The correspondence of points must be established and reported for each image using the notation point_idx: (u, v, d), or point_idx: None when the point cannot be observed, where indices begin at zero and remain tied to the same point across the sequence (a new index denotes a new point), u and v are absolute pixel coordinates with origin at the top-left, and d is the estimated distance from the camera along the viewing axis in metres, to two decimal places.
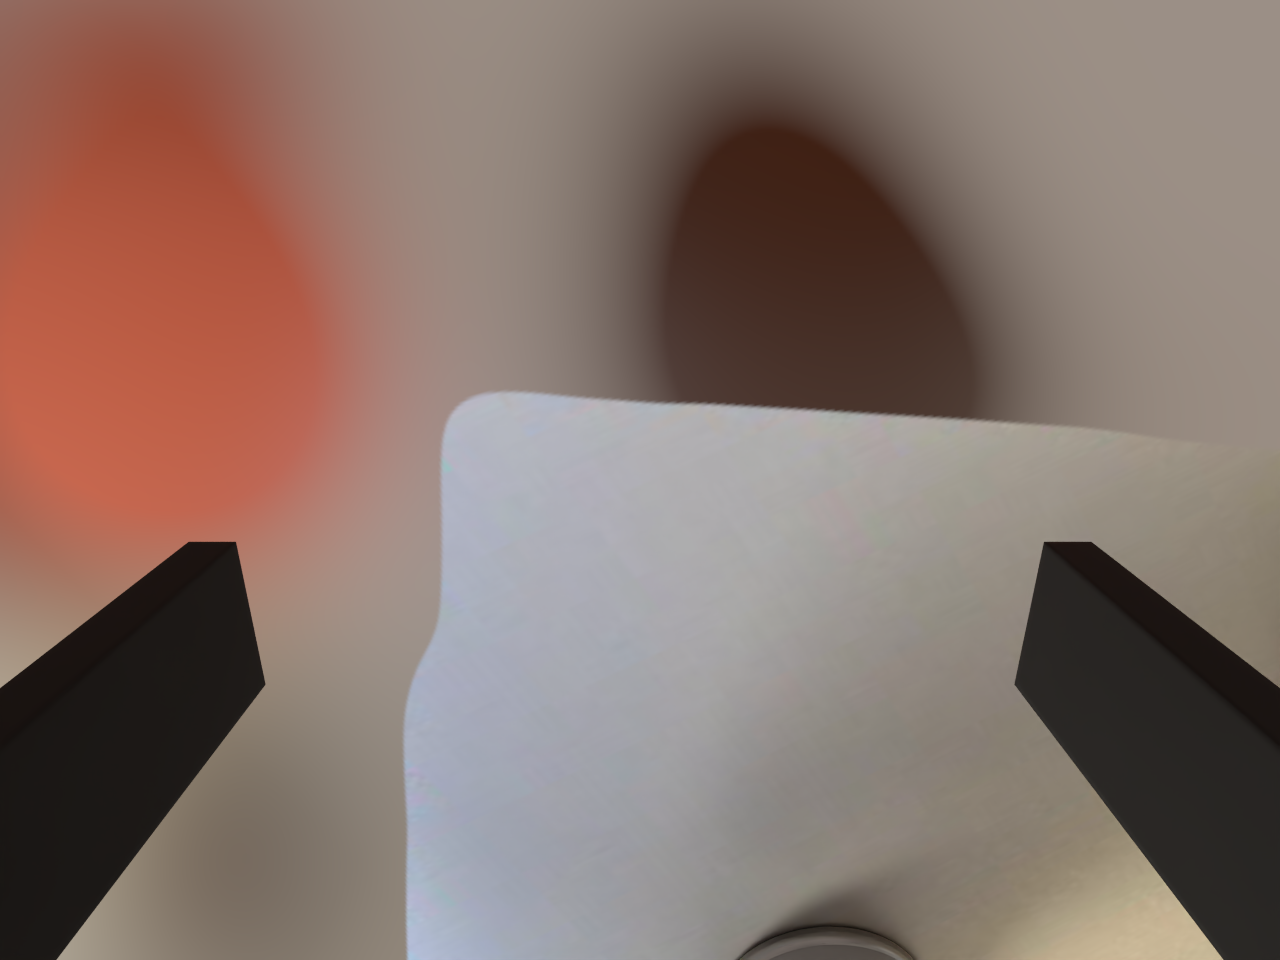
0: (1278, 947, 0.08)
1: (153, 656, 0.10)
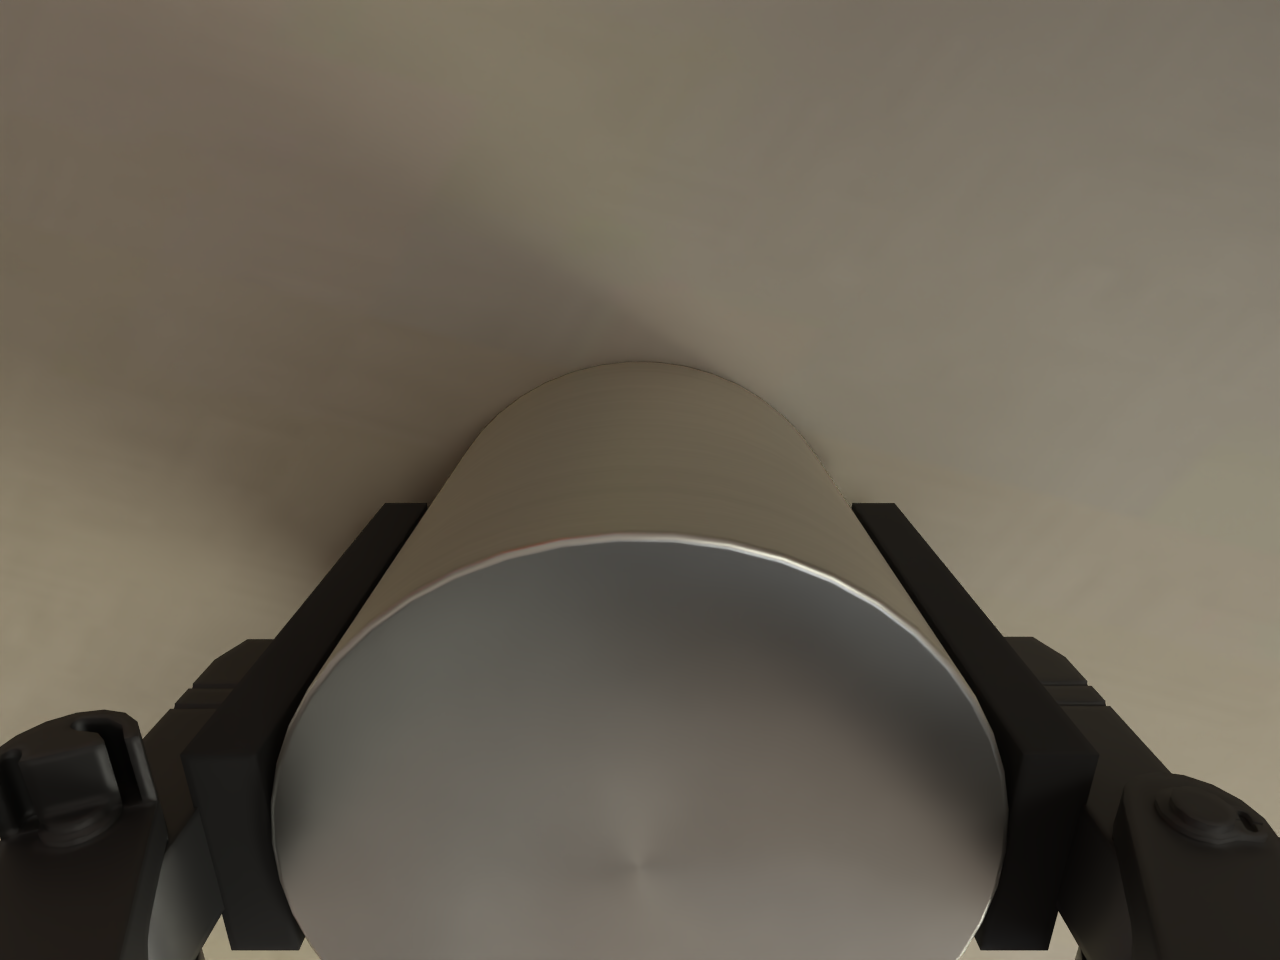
0: None
1: None
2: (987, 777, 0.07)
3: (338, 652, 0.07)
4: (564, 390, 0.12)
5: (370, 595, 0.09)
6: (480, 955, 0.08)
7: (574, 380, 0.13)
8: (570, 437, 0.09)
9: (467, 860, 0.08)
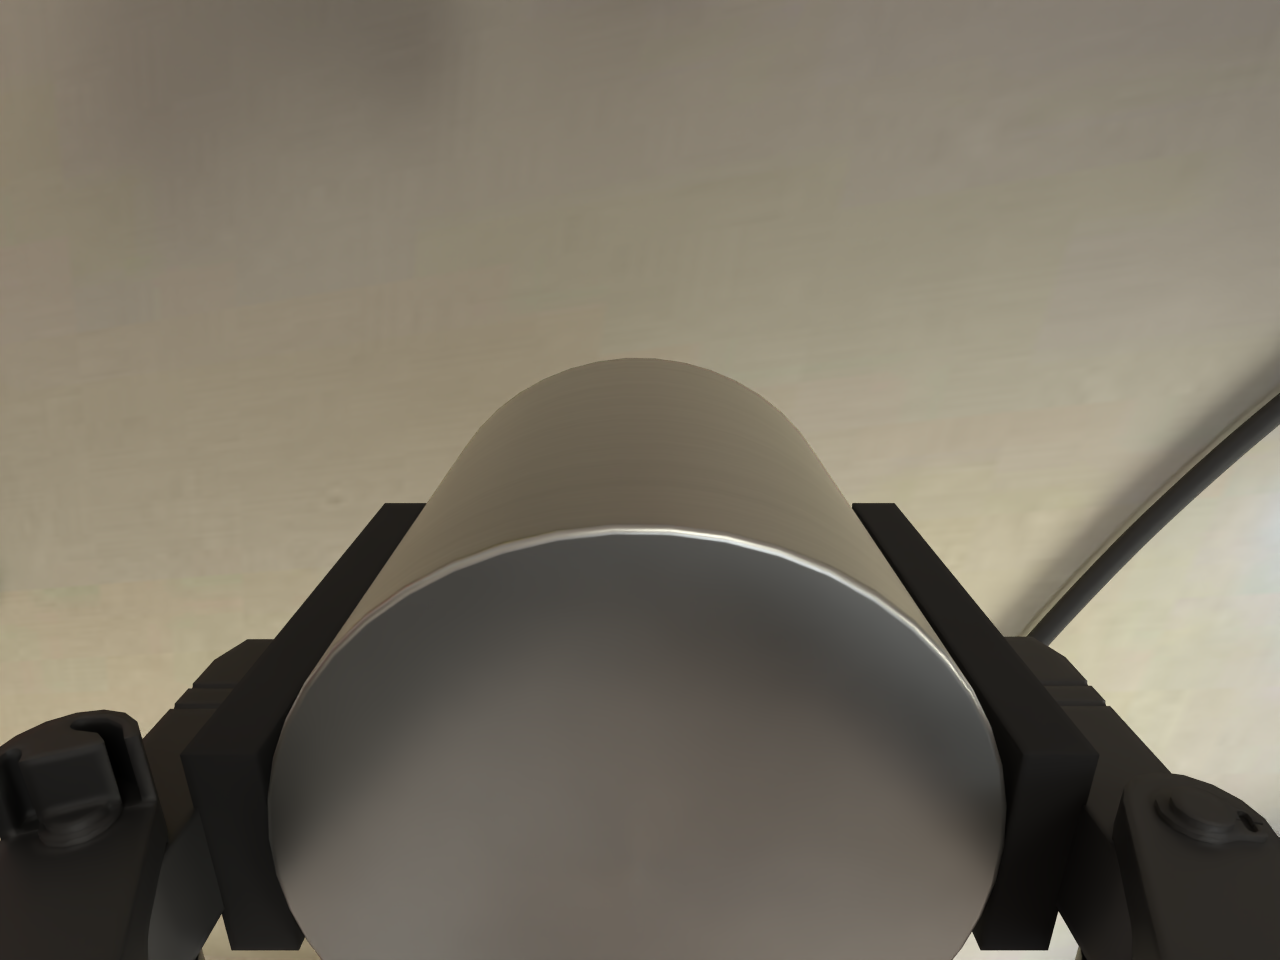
0: None
1: None
2: (985, 771, 0.07)
3: (334, 646, 0.07)
4: (562, 386, 0.12)
5: (367, 590, 0.09)
6: (477, 950, 0.08)
7: (572, 376, 0.13)
8: (569, 432, 0.09)
9: (465, 856, 0.08)
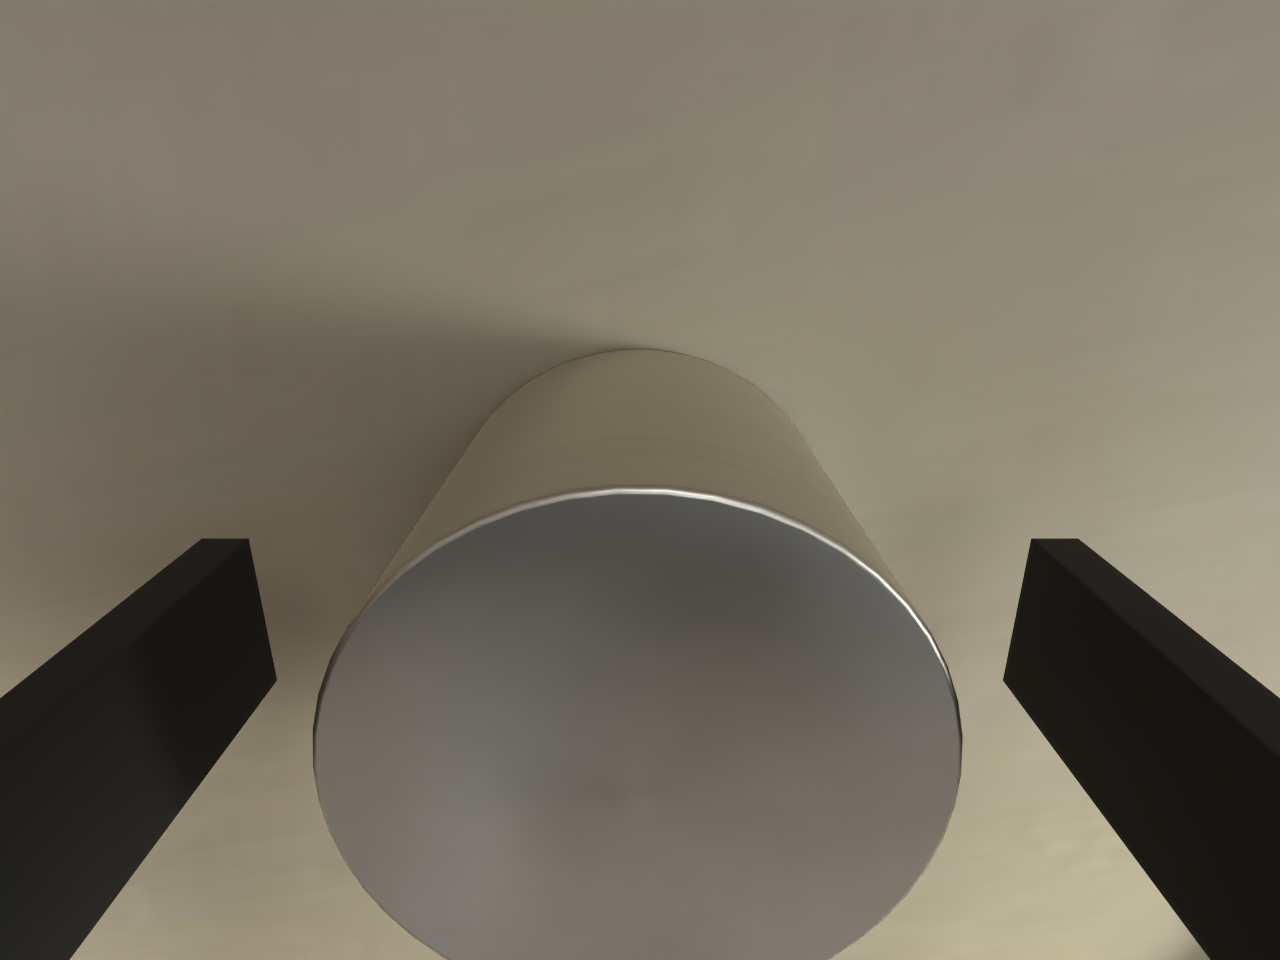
0: (1255, 936, 0.08)
1: (169, 651, 0.10)
2: (942, 705, 0.09)
3: (375, 593, 0.08)
4: (569, 374, 0.13)
5: (397, 552, 0.10)
6: (496, 871, 0.09)
7: (578, 365, 0.14)
8: (576, 413, 0.10)
9: (486, 783, 0.09)
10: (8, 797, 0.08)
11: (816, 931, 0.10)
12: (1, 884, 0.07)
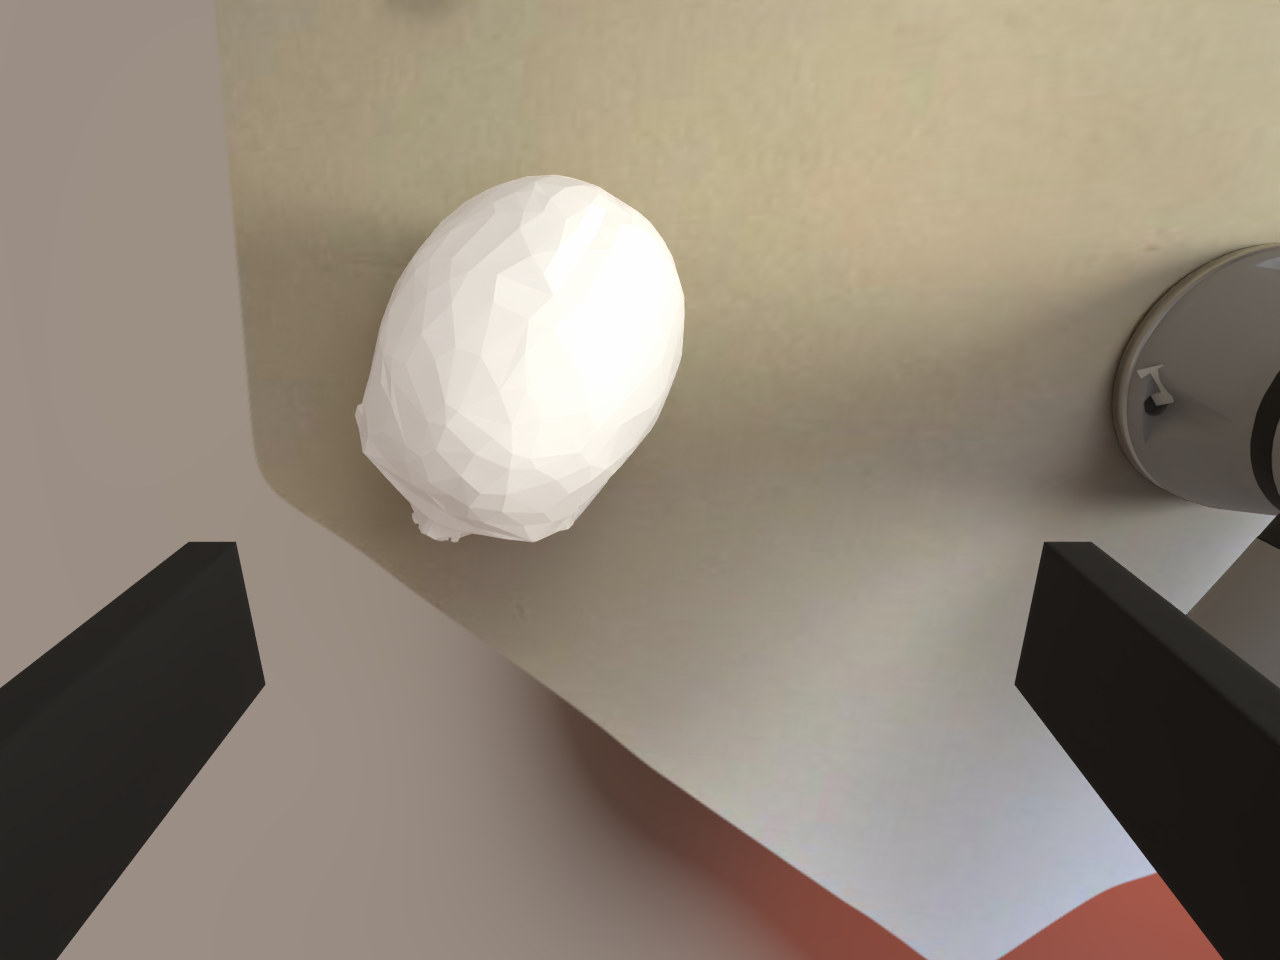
0: (1278, 947, 0.08)
1: (153, 656, 0.10)
2: None
3: None
4: None
5: None
6: None
7: None
8: None
9: None
10: None
11: None
12: None
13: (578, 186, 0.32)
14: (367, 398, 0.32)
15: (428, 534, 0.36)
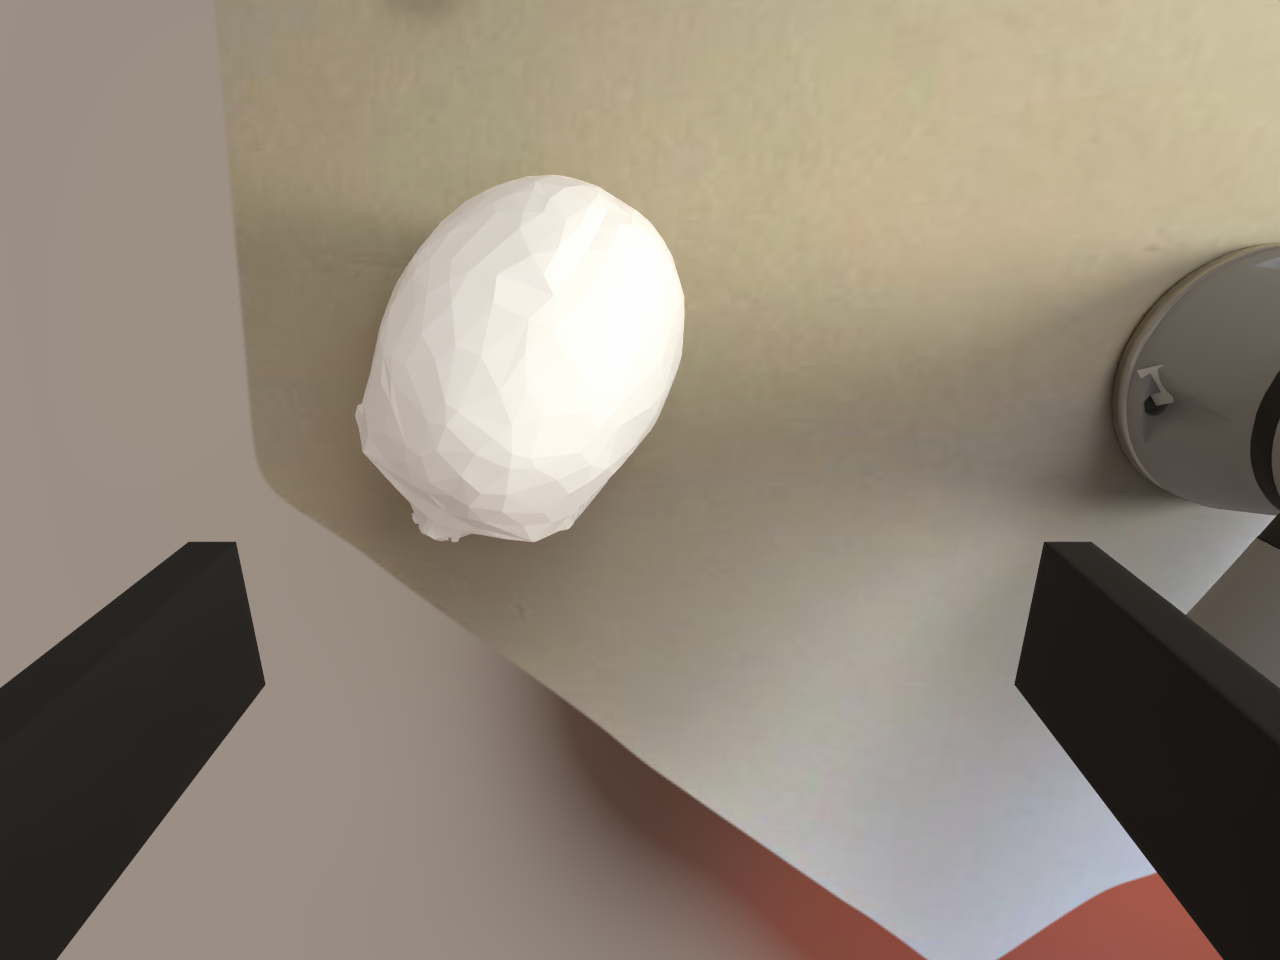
0: (1278, 947, 0.08)
1: (153, 656, 0.10)
2: None
3: None
4: None
5: None
6: None
7: None
8: None
9: None
10: None
11: None
12: None
13: (578, 186, 0.32)
14: (367, 398, 0.32)
15: (428, 534, 0.36)
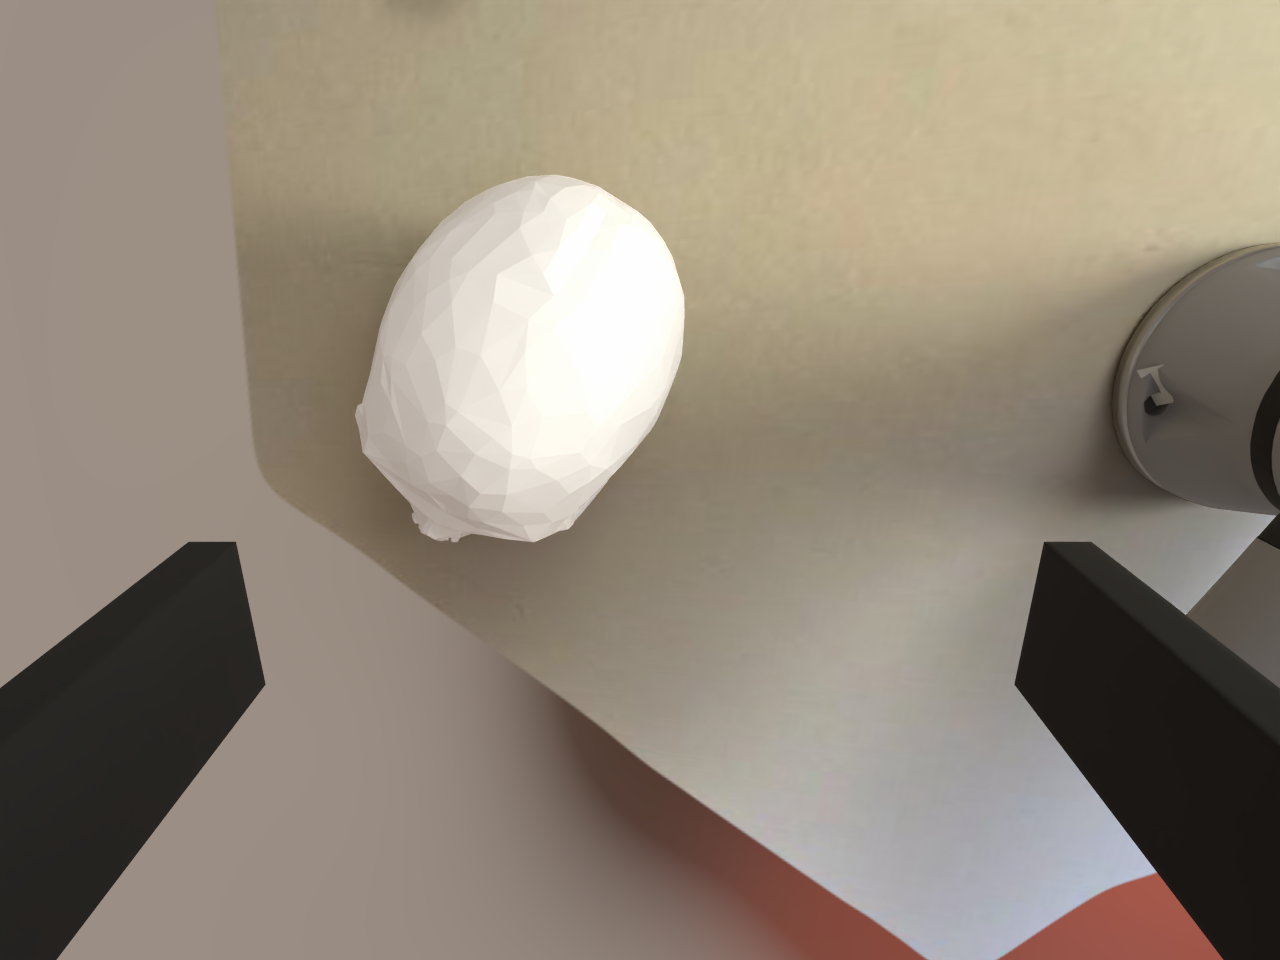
0: (1278, 947, 0.08)
1: (153, 656, 0.10)
2: None
3: None
4: None
5: None
6: None
7: None
8: None
9: None
10: None
11: None
12: None
13: (578, 186, 0.32)
14: (367, 398, 0.32)
15: (428, 534, 0.36)
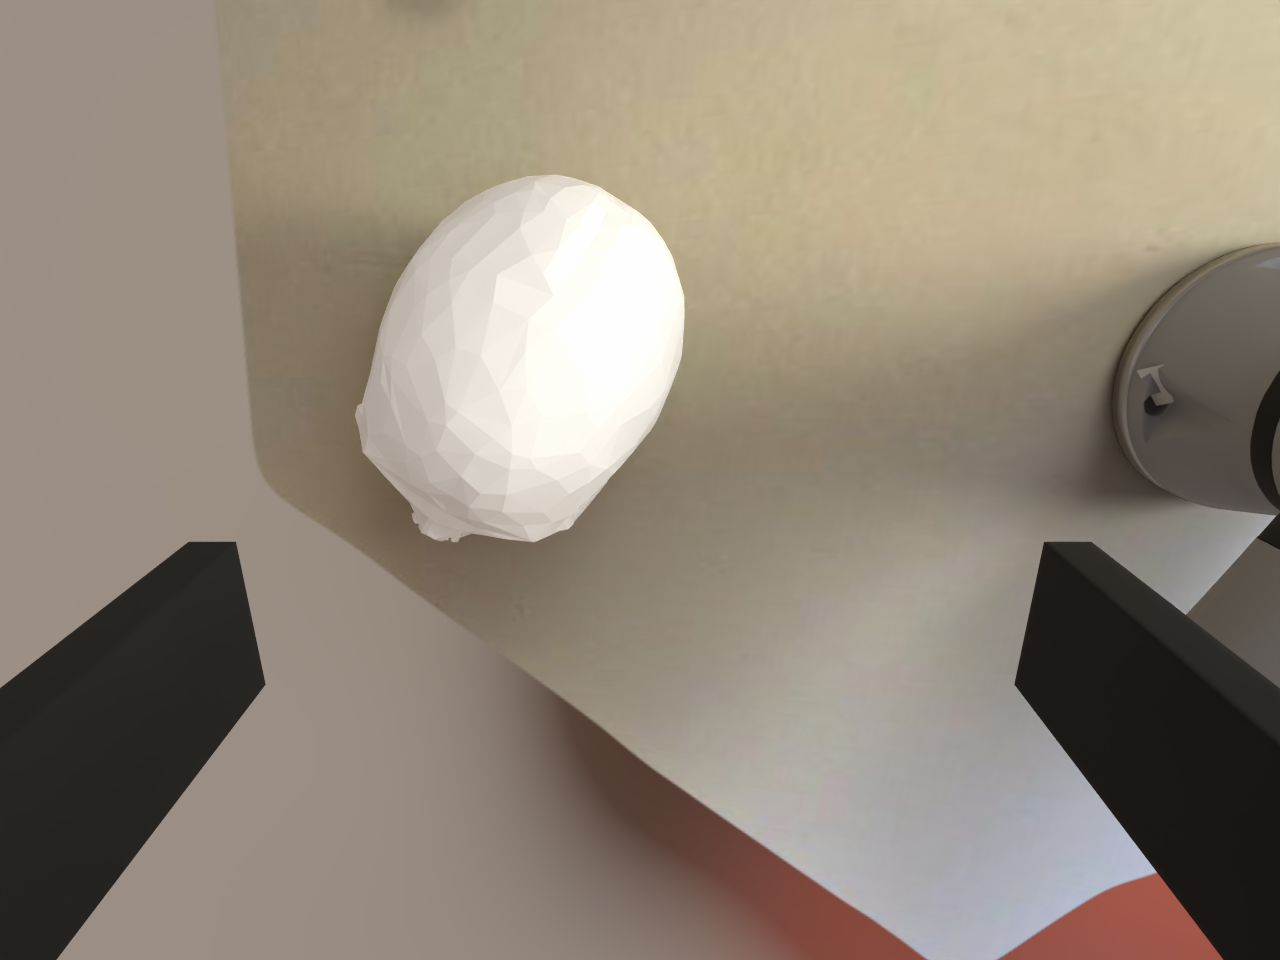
0: (1278, 947, 0.08)
1: (153, 656, 0.10)
2: None
3: None
4: None
5: None
6: None
7: None
8: None
9: None
10: None
11: None
12: None
13: (578, 186, 0.32)
14: (367, 398, 0.32)
15: (428, 534, 0.36)
